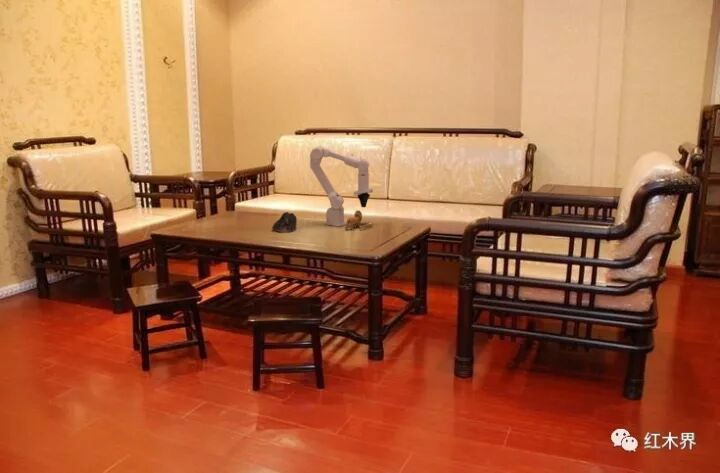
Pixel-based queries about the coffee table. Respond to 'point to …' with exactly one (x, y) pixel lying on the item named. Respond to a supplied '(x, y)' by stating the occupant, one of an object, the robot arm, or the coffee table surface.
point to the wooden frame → (362, 225)
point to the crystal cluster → (286, 223)
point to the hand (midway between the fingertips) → (363, 207)
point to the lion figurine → (354, 220)
